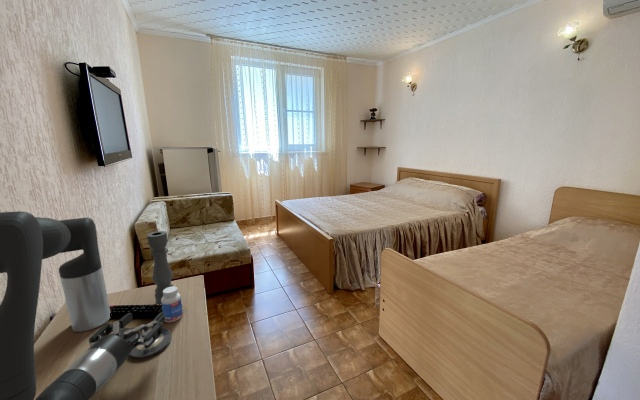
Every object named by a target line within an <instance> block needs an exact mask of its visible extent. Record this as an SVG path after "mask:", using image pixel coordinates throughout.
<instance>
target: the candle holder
mask: <svg viewBox="0 0 640 400" xmlns="http://www.w3.org/2000/svg"><path fill="white" fill-rule="evenodd" d="M146 240H147V244H148V246H149V248H150V249H151V251H150V252H149V254H150V255H151V256H152V257H153V270H152V277H151V279H152V282H153V283H154V284H155V285H156V287H155V290H154V298H155V304H159V305H160V304H161V299H162V297H163V290H164V289H166V288H168V287H172V286H174V285H173V284H172V279H173V277H174V273H173V271H172V269H171V267H170V264H169V261H168V255H167V253H168V252H169V249H168V247H167V245H168V242H169V239H168V233H167V231H166V230H165V231H164V230H159V231H153V232H149V233H148V234H146ZM161 305H162V304H161Z"/></svg>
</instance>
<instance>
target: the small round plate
mask: <svg viewBox="0 0 640 400" xmlns="http://www.w3.org/2000/svg"><path fill="white" fill-rule="evenodd" d="M163 331H164V332H163V333H162V334H161V335H160V336H159V337H158V338H157V340H156V341H155V342H154V343H153V344H152V345H151V346H150V347H149V348H145V347H144V345H138V346H137V347H135V348H134V349H132V351H131V353H130V355H129V356H130V357H131V358H135V359H143V358H144V359H145V358H147V357H151V356H154V355H156V354H157V353H159V352H161V351H164V349H165V348H166V347H167V346H168V345H169V344H170V342H171V340H172V332H171V331H170V330H169V329H166V328H163ZM142 335H143V332H142V333H140V337H141V336H142Z"/></svg>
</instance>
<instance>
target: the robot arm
mask: <svg viewBox="0 0 640 400" xmlns="http://www.w3.org/2000/svg"><path fill="white" fill-rule="evenodd" d="M97 233H98V232H97V227H96V224H95V221H94V220H93V219H92V218H91V217H78V218H70V219H69V218H68V219H61V220H58V219H54V218H50V217H37V216H34V215H33V214H32V213H30V212H27V211H21V210H20V211H2V212H0V274H3V273H5V274H6V276H7V277H6V280H7V281H6V288H5V293H4V295H3V298H2V300H1V303H0V400H90V399H91V398H92V397H93V396H94V395H95V394H96V393H97V392H98V391H99V390H100V389H101V388H102V387H103V386H104V385H106V383H107V382H108V381H109V380H110V379H111V377H112V376H113V375H114V374H115V373H116V372H118V370H119V369H120V368H121V367H122V365H123V364H124V363H125V362H126V361H127V360H128V358H129V356H130V353H131V351H132V349H134V348H135V347H137V346H138V345H144V347H145V348H149V347H150V346H151V345H152V344H153V343H154V342H155V341H156V340H157V338H158V337H159V336H160V335H161V334H162V333H163V332H164V331H163V329H164V324H163V323H164V322H165V321H164V320H165V315H164V313H163V312H159V313H158V314H157V315H156V316H155V318H154V319H153V320H152V321H151V322H149V323H147V324H146V323H145V324H144V323H143V324H140V325H139V326H136V327H131V328H130V327H127V325H129V324H130V323H131V322H132V321H133V318H134V317H133V313H132V312H128V313H126V314H125V315H123V316H122V317H121V318H120V319H118V320H116V321H114V322H113V323H110V322H108V321H109V320H110V319H111V317H110V313H111V308H110V302H109V298H108V297H109V296H108V292H107V287H106V283H105V282H106V280H105V277H104V271H103V266H102V261H101V256H100V250H99V249H100V248H99V244H98V234H97ZM81 250H82V251H83V252H82V253H81V254H79V255H78V256H76V257H74V258H72V259H69V260H67V261H65V262H64V263H62V264H61V265H60V266H59V268H58V274H59V278H60V282H61V286H62V290H63V295H64V299H65V304H66V307H67V312H68V316H69V317H68V318H69V321H70V324H71V329H72V331H73V332H75V333H77V332H78V333H81V332H87V331H90V330H93V329H96V328H98V327H100V326H101V327H100V328H99V329H98V330H97V331H96V332H95V333H93V334H92V335H91V336H90V337H89V338H88V343H89V348H87V349H86V350H85V351H84V352H83V353H82V354H81V355H80V356H78V357H77V358H76V359H74V361H73V362H72V363H70V365H69V366H68V367H67V368H66V370H64V372H62V373H61V374H60V375H59V376H58V377H57V378H56V379H55V380H53V381H52V382H51V383H50V384H49V385H48V386H47V387H45V389H44V390H43V391H41V393H40V394H39V395H38V396H37V397H36V395H37V379H36V378H37V377H36V375H37V374H36V363H35V362H36V360H35V350H34V349H35V344H34V343H35V342H34V341H35V326H36V317H37V310H38V309H37V308H38V304H39V295H40V286H41V276H42V275H41V274H42V264H43V260H46V259H49V258H53V257H54V256H56V255H58V254H63V253H68V252H69V253H70V252H76V251H81ZM102 325H103V326H102ZM149 328H151V329H149ZM148 329H149V330H148ZM140 331H142V333H143V335H142V336H141V337H140V335H141V333H140ZM35 397H36V398H35Z"/></svg>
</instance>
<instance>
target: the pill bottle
mask: <svg viewBox="0 0 640 400" xmlns="http://www.w3.org/2000/svg"><path fill="white" fill-rule="evenodd" d="M178 290H179V289H178V287H177V286H174V285H173V286H172V287H168V288H166V289H164V290H163V297H162V299H161V304H162V306H161V310H162V312H163V313H164V315H165V320H164V322H165V323H172V322H173V323H174V322H176V321H178V320H180V319H181V318H182V316H183V306H182V297H181V293H179V292H178Z"/></svg>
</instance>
